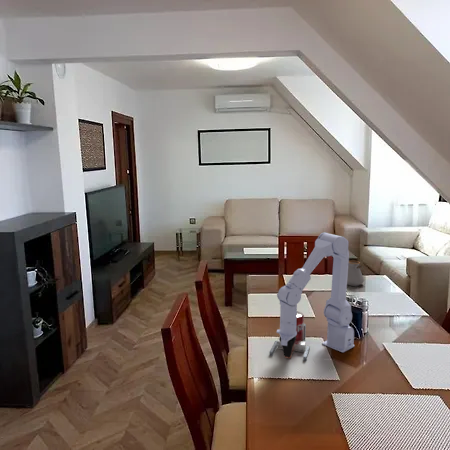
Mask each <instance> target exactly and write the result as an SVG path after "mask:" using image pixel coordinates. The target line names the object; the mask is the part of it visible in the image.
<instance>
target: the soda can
mask: <svg viewBox="0 0 450 450" xmlns="http://www.w3.org/2000/svg"><path fill="white" fill-rule="evenodd" d="M304 324H305V315H304V314H303V312H301V311H298V310H297V320H296V332H297V335H296V341H303V342H304V340H303V332H304Z"/></svg>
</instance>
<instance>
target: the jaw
mask: <svg viewBox="0 0 450 450" xmlns="http://www.w3.org/2000/svg"><path fill="white" fill-rule="evenodd" d="M277 341H278V346H277V349H278V350H279V349H281V350H283V347H282V345H281V342H280V340H279V339H278V340H277ZM306 342H307V341H304V340H303V341H296V340H295V342H294V344H293V347H292V352H291V356H290V357H285V356H284V359H290V360H292V359H291V358H292V356H293V353H294V352H299V353H305V351H306V348H307V346H306Z"/></svg>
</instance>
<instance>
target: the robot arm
mask: <svg viewBox="0 0 450 450" xmlns="http://www.w3.org/2000/svg"><path fill="white" fill-rule="evenodd" d="M325 257H333V260H332V261H333V262H332V263H333V264H332V274H331V276H332V277H331V288H330V289H331V291H330V297H329V298H328V299H327V300H326V301H325V306H324V309H323V315H324V318H326V321H327V327H326V328H327V332H326V340H325V341H323V342H321V344H322V345H323V346H326V347H328V348H331V349H333V350H335V351H337V352H338V351H339V352H341V353H345V352H347V351H349V350H350V349H352V348H355V344H354V341H355V330H354V328H353V327H352V326H350V324H351V322H352V320H353V313H352V305H351V304H350V303H349V301H348V300H347V289H348V285H347V277H348V267H349V261H350V250H349V240H348V239H347V238H346V237H345V236H342V235H336V234H334V233H333V234H332V233H330V232H321V233H320V234H319V235H318V236H317V238H316V239H315V241H314V248H313V250H312V251H311V253H310V254H309V256H308V258H307V259H306V260H305V263H304V264H303V266H302V267H301V268H297V269H296V270H295V271H294V272H293V274H292V276H291V277H290V279H289V280H288V281H287V283H286V284H285V285H283V286H281V287H280V288H279V289H278V292H277V293H276V297H277V300H278V301H279V305H280V307H279V309H280V310H279V311H280V312H279V316H280V317H279V329H276V334H279V337H278V340H280V342H281V345H282V347H283V349H282V351H283V353H282V354H283V356H284V358H285V357H290V356H291V352H292V347H293V344H294V342H295V340H296V335H297V332H296V320H297V311H298V310H297V309H298V304H299V303H300V302H301V300H302V294H303V290H304V289H305V288H306V286H307V285H308V283H309V282H310V281H311V274H312V272H313V271H314V269H316V267H317V266H318V265H319V263H321V261H322V260H323V259H324V258H325ZM291 357H292V356H291Z"/></svg>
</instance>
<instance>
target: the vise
mask: <svg viewBox="0 0 450 450" xmlns="http://www.w3.org/2000/svg"><path fill="white" fill-rule="evenodd" d="M306 326H307V324H306V323H304V332H303V341H306V338H307V337H306V334H307V333H306V332H307V331H306V329H307V327H306ZM276 349H278V340H275V341H274V343H273V344H272V347H271V348H270V351H269V356H271V357H273V356H274V353H275V352H276ZM310 351H311V346H310V345H307V346H306V348H305V352H304V353H303V356H302V361H303V362H307V360H308V357H309V353H310Z"/></svg>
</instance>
